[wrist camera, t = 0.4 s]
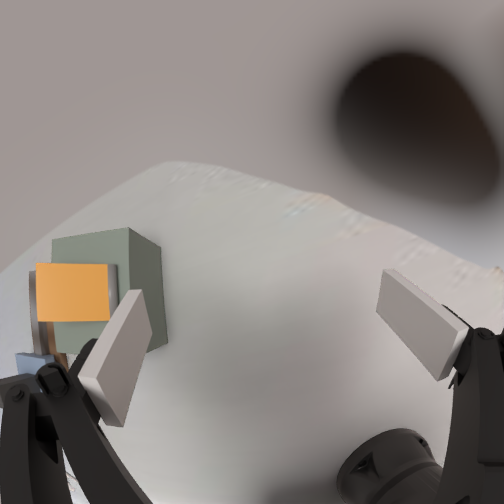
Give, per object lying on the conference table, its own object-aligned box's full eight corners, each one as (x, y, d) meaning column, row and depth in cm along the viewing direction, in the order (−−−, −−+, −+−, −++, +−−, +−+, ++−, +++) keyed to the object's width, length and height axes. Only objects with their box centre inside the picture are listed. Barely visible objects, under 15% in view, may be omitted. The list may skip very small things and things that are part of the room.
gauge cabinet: (167, 342, 32) (136, 357, 22) (97, 342, 31) (53, 351, 22) (160, 247, 34) (128, 227, 24) (92, 255, 34) (48, 240, 24)
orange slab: (118, 319, 23) (120, 320, 22) (39, 320, 18) (37, 321, 17) (115, 266, 23) (117, 264, 23) (37, 264, 19) (35, 262, 18)
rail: (75, 403, 30) (63, 410, 26) (49, 397, 29) (36, 402, 26) (59, 272, 33) (45, 269, 30) (34, 274, 33) (20, 272, 29)
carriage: (71, 407, 28) (21, 433, 16) (40, 399, 28) (-9, 418, 16) (60, 355, 29) (3, 367, 17) (30, 351, 29) (-24, 359, 17)
